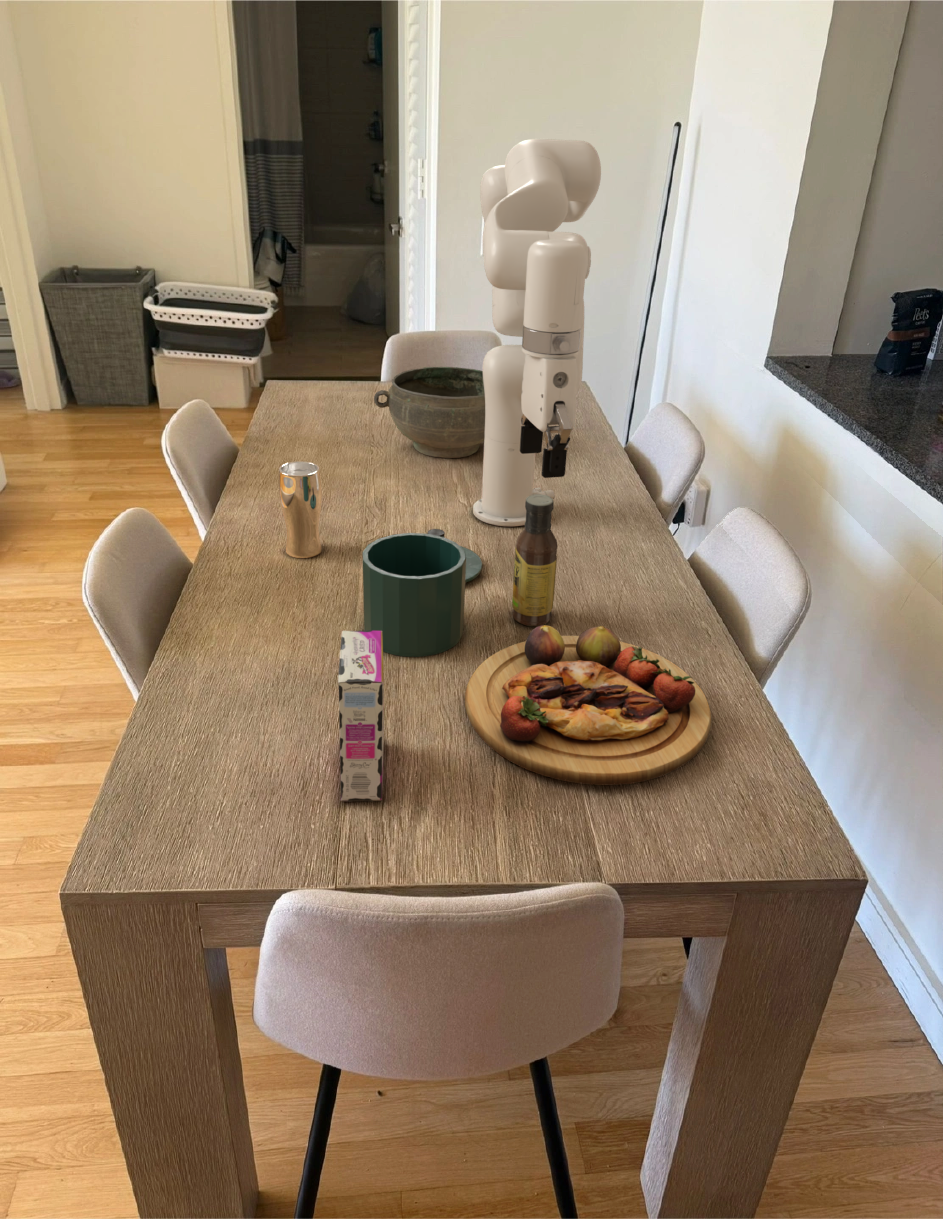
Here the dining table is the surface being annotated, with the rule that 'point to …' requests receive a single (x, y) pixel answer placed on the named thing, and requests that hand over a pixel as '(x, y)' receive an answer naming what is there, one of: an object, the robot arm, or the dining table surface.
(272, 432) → the dining table surface
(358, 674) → the candy bar box
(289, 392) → the dining table surface
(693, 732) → the wooden plate
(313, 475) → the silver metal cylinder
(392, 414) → the bowl
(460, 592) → the tin
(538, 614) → the sauce bottle
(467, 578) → the tin lid
